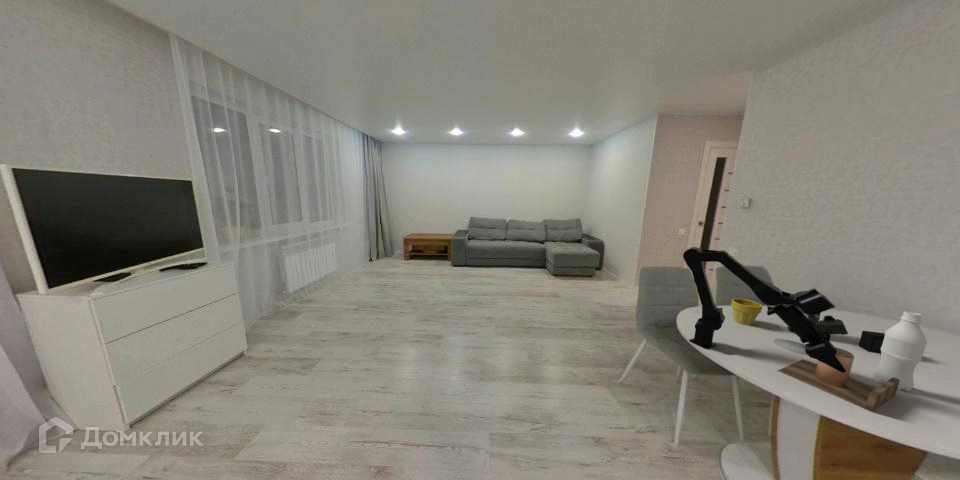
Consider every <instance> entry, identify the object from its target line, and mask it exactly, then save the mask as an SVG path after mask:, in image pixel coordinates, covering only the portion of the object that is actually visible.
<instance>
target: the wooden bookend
mask: <svg viewBox="0 0 960 480" xmlns="http://www.w3.org/2000/svg"><path fill="white" fill-rule="evenodd" d="M817 364H818V363H814V362H812V361H810V360H807V359H804V358H803V359H801V360H798V361H796V362H793V363H791V364H789V365H786V366H785V367H783V368H780V369H778V370H777V372H780V373H781V374H784V375H786V376H788V377H791V378H793V379H796V380H797V381H800V382H802V383H804V384H807V385H809V386H811V387H814V388H816V389H818V390H821V391H822V392H825V393H827V394H830V395H831V396H832V395H833V396H834V397H836V398H839V399H841V400H843V401H844V402H845V401H846V402H848V403H851V404H853V405H854V406H857V407H860V408H862V409H864V410H866V411H868V412H871V413H873V412H874V411H875V410H877V409H878V408H880V407H881V406H883V404H885V403H886V402H888V401H889V400H891V399H892V398H894V397H895V396H896V394H897V391H898V390H897V388H898V385H899V382H900V380H899V379H897V378H894V377H893V378H891V379H890V380H888V381H887V382H885V383H884V384H881V385H879V386H878V387H877V386H873V385H872V384H869V383H867V382H863V381H861V380H859V379H856V378H853V377H850V376H849V379H848V382H847V386H846V387H845V388H841V387H835V386H832V385H829V384H826V383H824V382H822V381H820V380H818V379H817V378H816V377H815V372H816V368H817Z"/></svg>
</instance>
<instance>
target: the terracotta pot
mask: <svg viewBox="0 0 960 480" xmlns="http://www.w3.org/2000/svg"><path fill="white" fill-rule="evenodd" d="M834 347H835V346H834ZM835 348H836V350H837V353H836V355H835V356H836V357H837V359H838V360H839V361H840V363H841V364H842V365H843V367H844V368H845V370H846V372H843V373H842V372H840V371H838V370H836V369H834V368H832V367H830V366H829V365H827V364H825V363H823V362H821V361H819V360H817V363H816V364H817V368H816V372H815V377H816V378H817V379H818V380H820V381H822V382H824V383H826V384H829V385H832V386H835V387H841V388H845V387H846V386H847V382H848V379H849V377H850V375H851V371H852V368H853V363H854V359H855V356H854V354H853V353H852V352H850V351H848V350H845V349H842V348H839V347H835Z"/></svg>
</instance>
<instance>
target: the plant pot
mask: <svg viewBox="0 0 960 480" xmlns="http://www.w3.org/2000/svg"><path fill="white" fill-rule="evenodd" d="M730 307H731V308H732V316H733V317H732V318H733V321H734V322H736V323H739V324H741V325H745V326H746V325H747V326H752V325H754V322H755V320H756V318H757V317H758V315H759V314H761V313H762V310H763V305H762V304H761V303H759V302H757V301H753V300H749V299H746V298H745V299H744V298H732V299H731V304H730Z"/></svg>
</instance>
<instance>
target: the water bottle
mask: <svg viewBox="0 0 960 480" xmlns="http://www.w3.org/2000/svg"><path fill="white" fill-rule="evenodd" d="M922 316H923V314H921V313H919V312H914V311H910V310H904V311H903V313H902V315H901V316H900V321H898V323H896V324H894V325H893V326H891V327H889V328H888V329H887V330H885V332H884V333H885V337H884V340H883V344H882V347H881V353H880V354H881V358H880V362H879V364H878V366H877V367H876V369H875V370H874V371H873V374H872V378H873V381H875V382H876V383H878V384H881V385H882V384H884V383H885V382H887V381H888V380H890V379H891V378H893V377H894V378H897V379H899V380H900V382H899V385H898V388H897V391H901V390H902V391H904V392H910V391H911V390H912V389H913V388H914V385H915V382H914V373H915V369H916V367H917V365H918V364H919V363H921V362H922V361H923V359H922V358H923V355H924V351H925V349H926V346H927V344H928V340H927V337H926V335H925V333H924V332H923V330H922V329H921V326H920V325H921V323H922Z"/></svg>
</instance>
